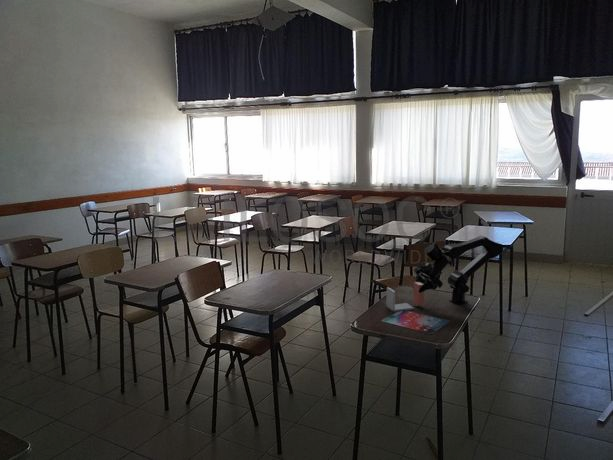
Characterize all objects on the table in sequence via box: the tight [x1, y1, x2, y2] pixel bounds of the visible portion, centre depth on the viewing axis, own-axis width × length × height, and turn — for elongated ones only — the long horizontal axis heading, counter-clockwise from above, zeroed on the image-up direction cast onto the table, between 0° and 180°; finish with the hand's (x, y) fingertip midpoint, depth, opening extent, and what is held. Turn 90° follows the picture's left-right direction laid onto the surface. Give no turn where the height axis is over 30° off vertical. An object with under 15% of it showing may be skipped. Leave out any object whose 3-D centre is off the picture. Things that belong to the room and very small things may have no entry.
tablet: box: [380, 310, 450, 336], centre depth 213 cm, size 19×25×1 cm
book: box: [412, 281, 425, 306], centre depth 231 cm, size 3×5×10 cm, turn 16°
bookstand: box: [385, 287, 415, 313], centre depth 229 cm, size 11×7×10 cm, turn 106°
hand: (416, 290), depth 230 cm, fingers closed on book, 5 cm apart
